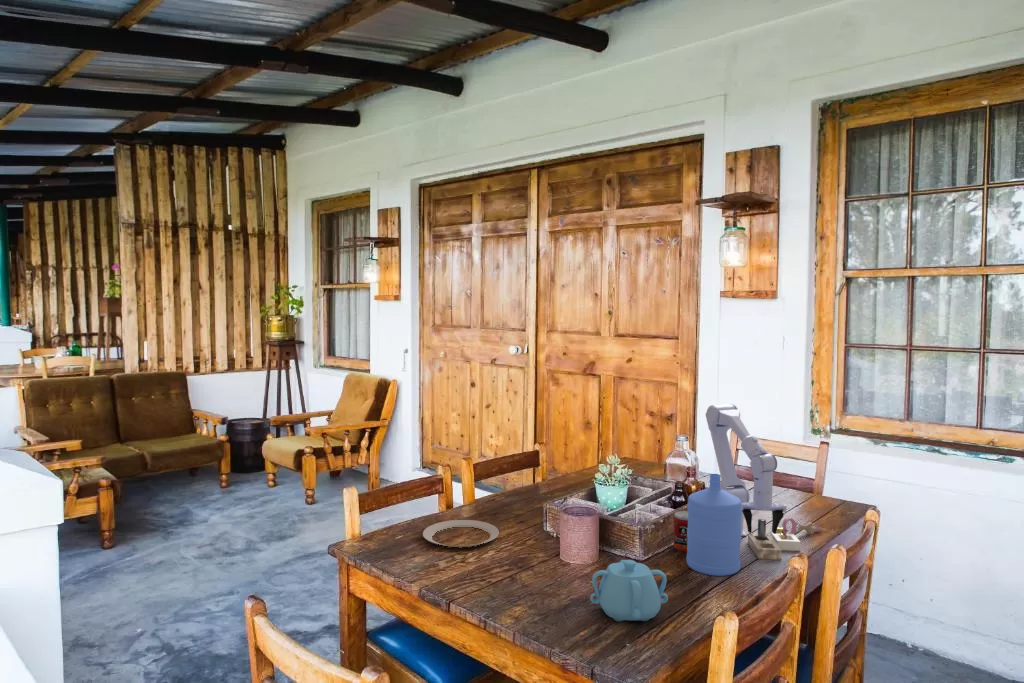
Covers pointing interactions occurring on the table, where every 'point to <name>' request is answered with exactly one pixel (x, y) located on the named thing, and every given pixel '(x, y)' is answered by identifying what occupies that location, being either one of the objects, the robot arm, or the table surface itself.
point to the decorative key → (800, 527)
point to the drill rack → (764, 547)
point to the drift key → (780, 532)
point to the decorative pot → (629, 591)
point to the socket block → (787, 542)
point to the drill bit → (761, 529)
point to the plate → (460, 523)
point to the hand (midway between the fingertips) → (761, 532)
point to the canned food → (680, 530)
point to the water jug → (714, 530)
